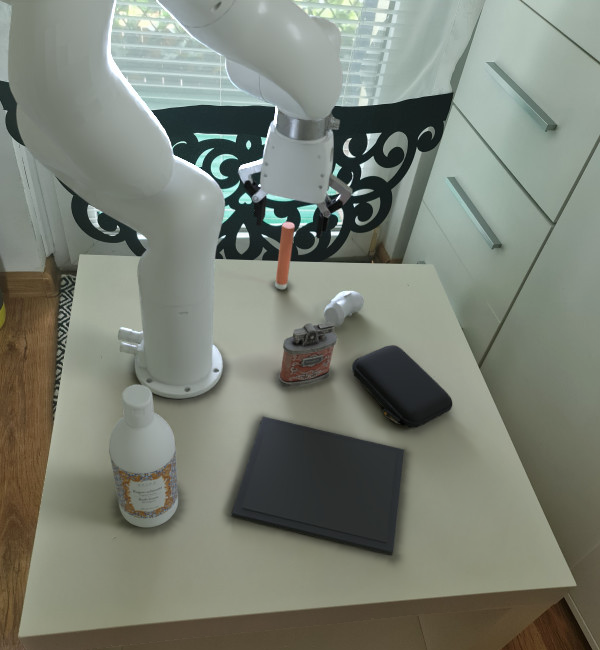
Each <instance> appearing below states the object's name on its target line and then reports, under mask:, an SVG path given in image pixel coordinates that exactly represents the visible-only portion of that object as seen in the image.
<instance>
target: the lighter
mask: <svg viewBox="0 0 600 650" xmlns="http://www.w3.org/2000/svg"><path fill="white" fill-rule="evenodd" d="M335 328H336V326H335V325H334V324H333V323H332V322H327V321H326V322H323V323H318V324H314V325H313V323H311V322H309V323H305V324H304V325H303V326H302V327H299V328H295V329H293V332H292V336H289V337H287V338H285V339H284V341H283V345H282V347H283V355H282V360H281V368H280V372H279V375H278V383H279V384H280V385H281V386H283V387H285V388H291V387H292V388H293V387H294V388H295V387H302V386H308V385H311V384H312V385H313V384H315V383H318V382H320V381H323V380H325V379H327V378H328V377H329V376H330V372H331V369H330V367H331V362H332V356H333V354H334V348H335V345H336V344H337V341H338V336H337V334H336V333H335Z"/></svg>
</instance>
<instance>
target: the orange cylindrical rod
mask: <svg viewBox="0 0 600 650" xmlns="http://www.w3.org/2000/svg"><path fill="white" fill-rule="evenodd" d="M281 225H282V226H281V232H280V241H279V249H278V258H277V267H276V275H275V285H274V286H275V287H276V289H279V290H286V289H287V287H288V280H289V273H290V267H291V265H290V264H291V258H292V250H293V243H294V235H295V227H296V226H295V224H294V223H293V222H291V221H284V222H283V223H282V224H281Z"/></svg>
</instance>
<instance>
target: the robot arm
mask: <svg viewBox="0 0 600 650" xmlns="http://www.w3.org/2000/svg"><path fill="white" fill-rule="evenodd" d="M155 1H156V2H157V3H158V4H159V5H160V6H161V7H162V9H164V10H165V11H166V12H167V13H168V14H169V16H171V17H172V18H173V19H174V20H175V22H177V24H179V25H180V26H181V27H182V29H183V30H184V31H186V33H187V34H188V35H190V37H192V38H193V39H194V40H196V41H197V42H199V43H200V44H202V45H204V46H205V48H208V49H210V50H211V51H213V52H214V53H216V54H218V55H219V56H222V57H223V58H225V60H224V64H225V65H224V66H225V72H226V74H227V78H228V79H229V81H230V83H232V85H233V86H234V87H235V88H236V89H238V90H239V91H241V92H243V93H244V94H246V95H249V96H251V97H254V98H255V99H257V100H261V101H263V102H265V103H268V104H271V105H273V106H275V113H274V119H273V120H272V121H271V122H270V124H269V127H268V131H267V136H266V138H265V139H266V140H265V144H264V149H263V154H262V159H259V160H256V161H252V162H249V163H245V164H242V165H240V167H239V168H238V170H237V174H238V175H239V178H240V180H241V182H242V183H243V188H244V189H245V190H246V192H247V193H248V194H249V195H250V196H251V200H252V202H253V218H256V221H255V222H256V225H255V226H257V227H258V226H259V227H260V226H262V224H263V222H264V219H265V217H266V212H267V211H266V208H267V195H271V196H273V197H279V198H283V199H287V200H288V199H289V200H292V201H298V202H303V203H308V204H313V205H316V206H317V208H318V209H319V211H320V212H319V215H318V220H317V227H316V233H315V238H316V239H319V240H320V239H321V238H322V234H323V232H325V233H327V231H328V226H329V221H330V217H331V215H332V214H334V213H335V212H337V211H339V210H341V209H342V208H343V206H344V205H345V204H346V203H347V202H348V201H349V199H350V198H351V197H352V195H353V188H352V187H350V186H349V185H348V184H347V183H345V182H344V181H343V180H341V179H340V178H338V177H337V176H336V175H334V174H333V173H332V172H333V163H334V147H335V146H334V145H335V143H334V132H333V130H335V131H339V130H340V129H339V128H340V126H341V125H340V124H341V120H340V119H337V118H336V117H334V115H333V114H332V111H333V109H334V108H335V106H336V105H337V103H338V101H339V99H340V96H341V94H342V89H343V83H344V75H343V66H342V62H341V60H340V52H341V46H342V45H341V44H342V32H341V30H340V28H339V27H338V26H337V25H336V24H335V23H334V22H333V21H331V20H329V19H327V18H325V17H321V16H317V15H313V14H308V13H307V12H306V11H305V10H304V9H303V8H302V7H301V6H299V5H298V4H297V3H295V2H294V1H293V0H155ZM0 2H2V3H5V4H6V5H9V6H11V12H10V13H11V14H10V23H9V25H10V26H9V31H8V32H9V35H8V50H7V79H8V84H9V89H10V92H11V94H12V97H13V98H14V100H15V102H16V113H15V115H16V125H17V128H18V133H19V136H20V138H21V140H22V142H23V144H24V146H25V148H26V150H27V151H28V152H29V153H30V155H31V156H32V157H33V158H34V159H35V160H36V161H37V162H38V163H39V164H40V165H41V166H43V168H45V169H46V170H47V171H49V172H50V173H51V174H52V175H53V176H54V177H56V178H57V179H58V180H59V181H60V182H62V183H63V184H64V185H65V186H66V187H68V188H69V189H70V190H71V191H73V192H74V193H75V194H76V195H77V196H78V197H80V198H81V199H83V200H84V201H85V202H86V203H88V204H89V205H90V206H91V207H93V208H95V209H97V210H98V211H100V212H101V213H103V214H105V215H107V216H108V217H110V218H112V219H113V220H116V221H117V222H119V223H121V224H123V225H125V226H126V227H128V228H130V229H131V230H133V231H134V232H136V233H139V235H142V236H143V237H144V238H145V239H146V241H147V242H148V248H147V249H146V250H144V252H143V253H142V254H141V256H140V258H139V259H138V262H137V271H136V272H137V274H136V275H137V285H138V295H139V306H140V317H141V326H142V330H141V332H140V331H136V330H134V329H131V328H127V327H123V326H122V327H119V330H118V332H117V339H118V341H121V343H120V345H119V352H122V353H125V354H132V355H135V358H134V371H135V375H136V378H137V380H138V382H139V383H140V385H144V386H146V387H148V388H149V389H150V390H151V392H152V394H155V395H157V396H160V397H164V398H168V399H178V400H179V399H189V398H194V397H197V396H201V395H203V394H204V393H206V392H209V391H210V390H211V389H212V388H213V387H215V386H216V384H217V383H218V382H219V381H220V379H221V377H222V376H223V370H224V360H223V356H222V354H221V352H220V350H219V349H218V347H217V346H215V345H214V309H215V308H214V304H215V303H214V300H215V267H216V266H215V264H216V263H215V262H216V253H217V248H218V247H217V246H218V241H219V236H220V233H221V228H222V225H223V221H224V217H225V211H226V201H225V196H224V193H223V190H222V189H221V187H220V185H219V183H218V182H217V181H216V180H215V179H214V178H213V177H212V176H211V175H210V174H209V173H208V172H206V171H204V170H203V169H201V168H200V167H198V166H197V165H194V164H193V163H191V162H188V160H185V159H182V158H180V157H178V156H176V155H174V150H173V147H172V142H171V141H170V138H169V136H168V134H167V132H166V130H165V128H164V127H163V125H162V124H161V123H160V121H159V120H158V118H157V117H156V116H155V115H154V113H153V112H152V111H151V109H150V108H149V107H148V106H147V104H146V103H145V101H144V100H143V99H142V98H141V97H140V96H139V94H138V93H137V92H136V90H135V89H134V88H133V87H132V85H131V84H130V83H129V81H128V80H127V78H125V75H123V73H122V72H121V71H120V69H119V67H118V65H117V64H116V62H115V61H114V59H113V56H112V53H111V36H112V26H113V21H114V14H115V9H116V4H117V0H0ZM257 173H260V179H259V184H258V182H256V180H255V179H254V178H253V177H252V175H254V174H257ZM330 189H333V190H334V191H335V192H337V193H338V194H339V195H338V196H336V197H335V198H333V199H331V198H330V196H329V194H328V191H329V190H330ZM132 343H133V344H137V345H133V344H132Z"/></svg>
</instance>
